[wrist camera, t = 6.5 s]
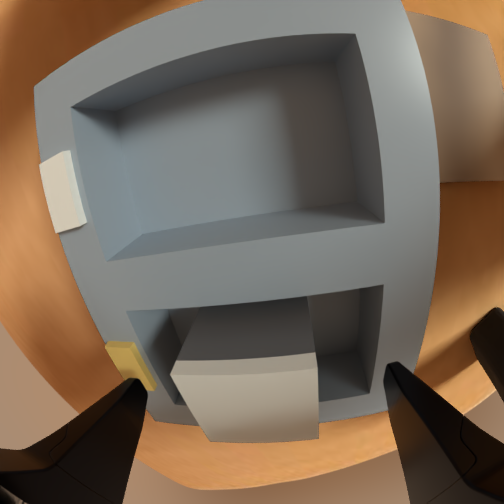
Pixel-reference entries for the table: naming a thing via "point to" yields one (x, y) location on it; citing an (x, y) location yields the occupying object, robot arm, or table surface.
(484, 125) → the brown flat square plate
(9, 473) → the robot arm
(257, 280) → the dock
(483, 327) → the walkie-talkie
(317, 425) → the plug
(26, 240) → the table surface
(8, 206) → the table surface
